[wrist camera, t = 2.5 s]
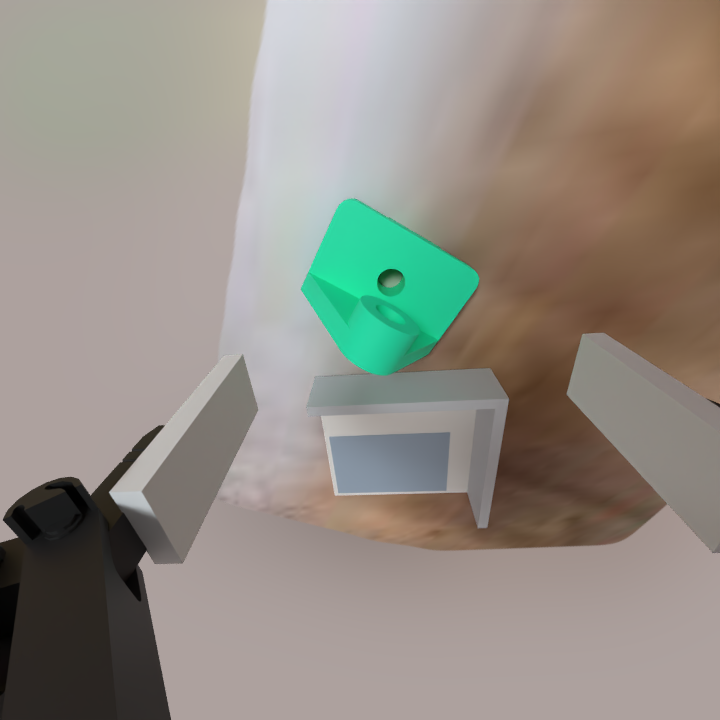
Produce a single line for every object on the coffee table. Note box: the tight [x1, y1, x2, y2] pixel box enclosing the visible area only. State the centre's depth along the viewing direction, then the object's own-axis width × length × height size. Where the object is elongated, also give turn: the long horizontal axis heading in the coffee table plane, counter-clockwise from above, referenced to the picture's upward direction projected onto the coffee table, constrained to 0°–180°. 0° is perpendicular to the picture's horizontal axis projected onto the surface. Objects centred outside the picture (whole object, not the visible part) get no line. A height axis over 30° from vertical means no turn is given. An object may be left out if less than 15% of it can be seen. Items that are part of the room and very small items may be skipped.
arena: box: [306, 368, 509, 528], centre depth 34 cm, size 17×17×5 cm
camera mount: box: [301, 199, 479, 376], centre depth 23 cm, size 12×8×10 cm, turn 62°
